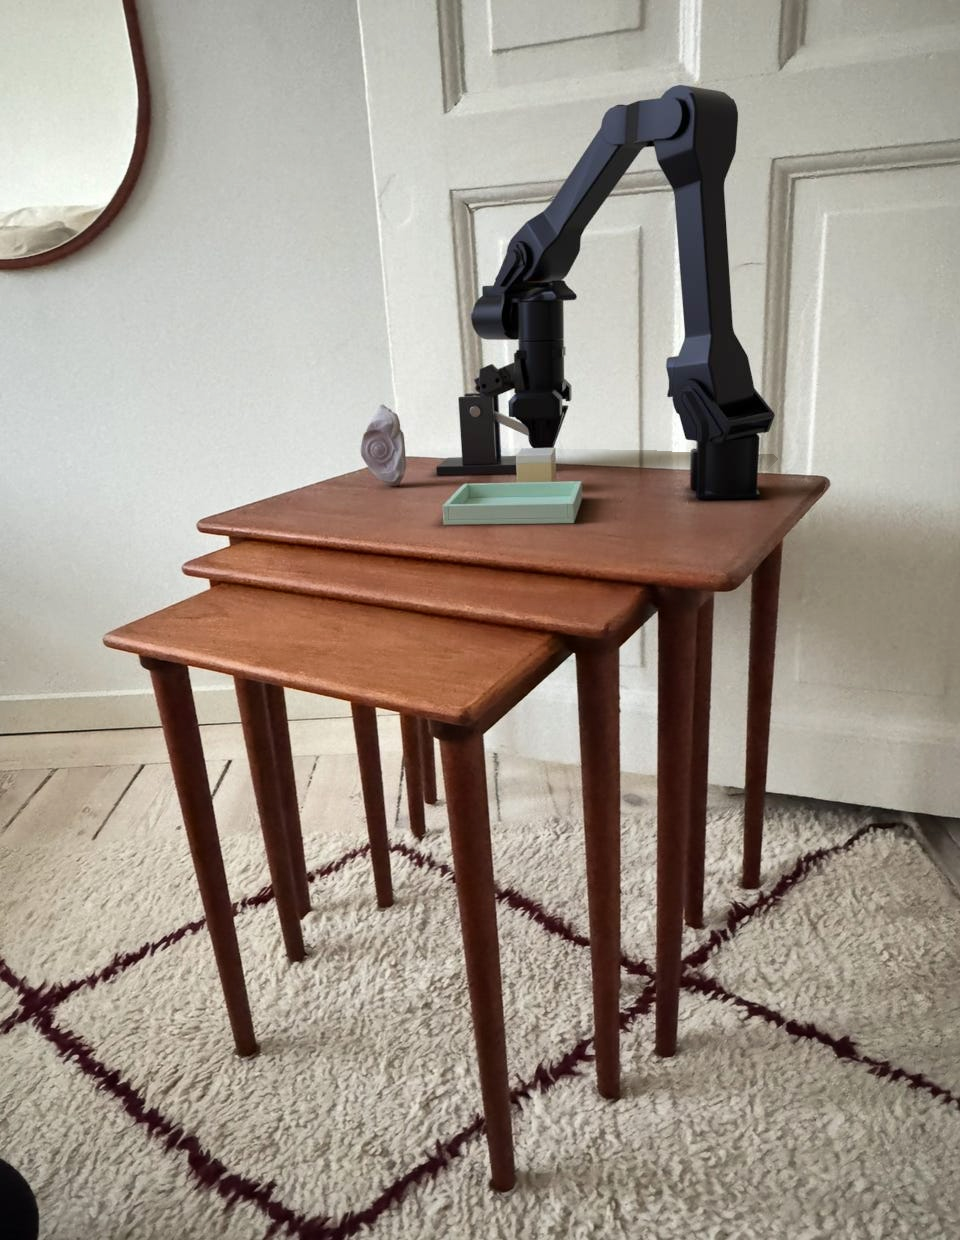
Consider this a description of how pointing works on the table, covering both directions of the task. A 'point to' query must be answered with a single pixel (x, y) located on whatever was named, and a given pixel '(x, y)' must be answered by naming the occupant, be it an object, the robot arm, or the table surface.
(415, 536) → the table surface
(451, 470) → the black lever stand
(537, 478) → the cake slice
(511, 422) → the lever
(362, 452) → the fossil
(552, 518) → the tray
